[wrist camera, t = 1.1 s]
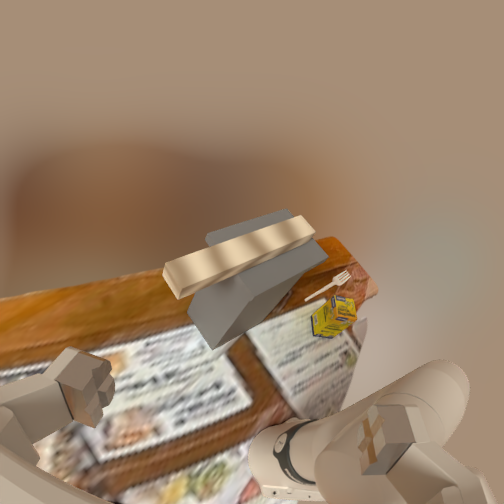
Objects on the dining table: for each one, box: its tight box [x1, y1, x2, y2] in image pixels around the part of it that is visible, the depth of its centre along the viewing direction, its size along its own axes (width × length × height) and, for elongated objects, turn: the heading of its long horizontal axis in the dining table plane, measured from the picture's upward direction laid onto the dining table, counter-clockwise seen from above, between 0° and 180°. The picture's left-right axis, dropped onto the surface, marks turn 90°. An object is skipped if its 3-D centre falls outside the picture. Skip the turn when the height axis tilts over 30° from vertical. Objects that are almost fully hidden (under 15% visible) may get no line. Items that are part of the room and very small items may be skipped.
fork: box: [304, 270, 351, 301], centre depth 87 cm, size 3×20×2 cm, turn 127°
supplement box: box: [311, 295, 357, 338], centre depth 74 cm, size 6×6×11 cm
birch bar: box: [163, 215, 316, 300], centre depth 46 cm, size 26×4×3 cm, turn 128°
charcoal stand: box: [187, 209, 328, 350], centre depth 60 cm, size 18×12×26 cm, turn 128°
